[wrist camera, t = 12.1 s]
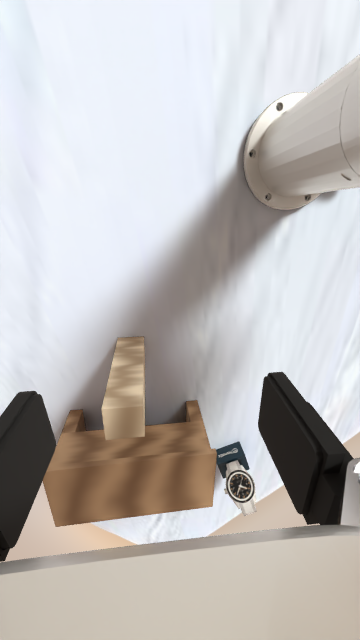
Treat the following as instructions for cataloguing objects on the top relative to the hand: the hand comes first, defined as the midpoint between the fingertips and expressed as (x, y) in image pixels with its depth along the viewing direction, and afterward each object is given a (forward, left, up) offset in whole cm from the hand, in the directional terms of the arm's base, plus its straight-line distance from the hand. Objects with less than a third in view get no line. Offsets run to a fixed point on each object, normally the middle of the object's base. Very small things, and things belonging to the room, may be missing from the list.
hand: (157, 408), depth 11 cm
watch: (-15, +37, -28) cm, 49 cm away
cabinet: (+3, +28, -28) cm, 40 cm away
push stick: (+3, +21, -28) cm, 35 cm away
